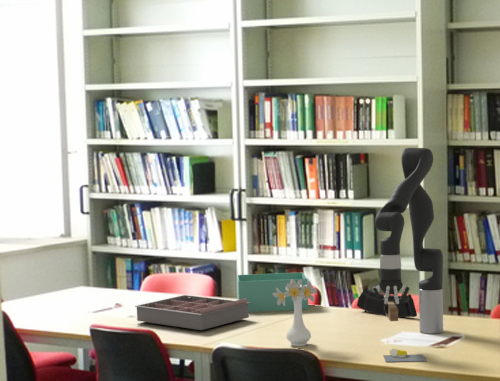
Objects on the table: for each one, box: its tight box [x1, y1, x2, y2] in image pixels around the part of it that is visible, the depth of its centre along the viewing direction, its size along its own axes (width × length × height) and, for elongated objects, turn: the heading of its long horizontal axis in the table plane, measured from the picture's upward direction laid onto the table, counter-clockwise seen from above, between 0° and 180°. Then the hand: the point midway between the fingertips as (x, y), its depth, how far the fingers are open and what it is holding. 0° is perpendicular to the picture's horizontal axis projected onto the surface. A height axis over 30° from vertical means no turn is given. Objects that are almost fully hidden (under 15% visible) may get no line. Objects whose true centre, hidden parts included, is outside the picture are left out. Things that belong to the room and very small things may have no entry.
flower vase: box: [272, 278, 318, 347], centre depth 330 cm, size 13×18×25 cm
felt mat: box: [383, 353, 428, 363], centre depth 304 cm, size 9×14×1 cm, turn 87°
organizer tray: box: [134, 294, 250, 331], centre depth 381 cm, size 32×40×10 cm
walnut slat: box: [386, 302, 399, 322], centre depth 317 cm, size 14×3×4 cm, turn 178°
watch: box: [388, 348, 408, 357], centre depth 309 cm, size 6×3×6 cm
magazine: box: [356, 287, 418, 318], centre depth 382 cm, size 17×3×30 cm
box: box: [236, 271, 309, 313], centre depth 411 cm, size 21×32×14 cm, turn 93°
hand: (391, 313), depth 317 cm, fingers closed on walnut slat, 2 cm apart
